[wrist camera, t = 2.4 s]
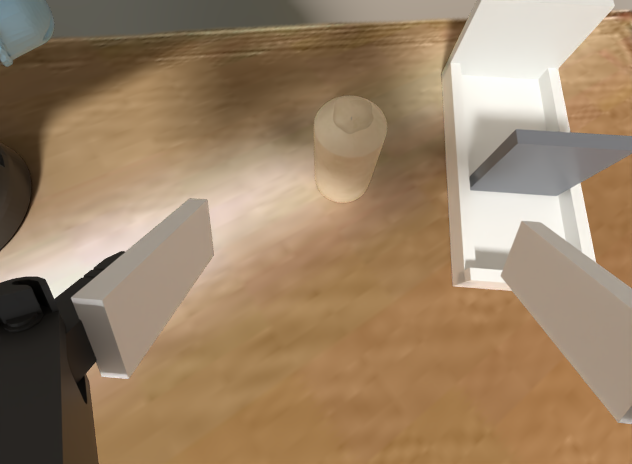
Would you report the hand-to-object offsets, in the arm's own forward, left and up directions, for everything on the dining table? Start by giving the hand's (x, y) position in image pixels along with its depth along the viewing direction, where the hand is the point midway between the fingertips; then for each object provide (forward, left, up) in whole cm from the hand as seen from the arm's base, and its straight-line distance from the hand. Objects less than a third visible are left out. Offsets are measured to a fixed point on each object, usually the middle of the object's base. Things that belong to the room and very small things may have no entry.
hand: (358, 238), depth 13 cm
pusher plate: (+16, +10, -14) cm, 24 cm away
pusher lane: (+16, +13, -15) cm, 26 cm away
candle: (0, +11, -16) cm, 19 cm away
